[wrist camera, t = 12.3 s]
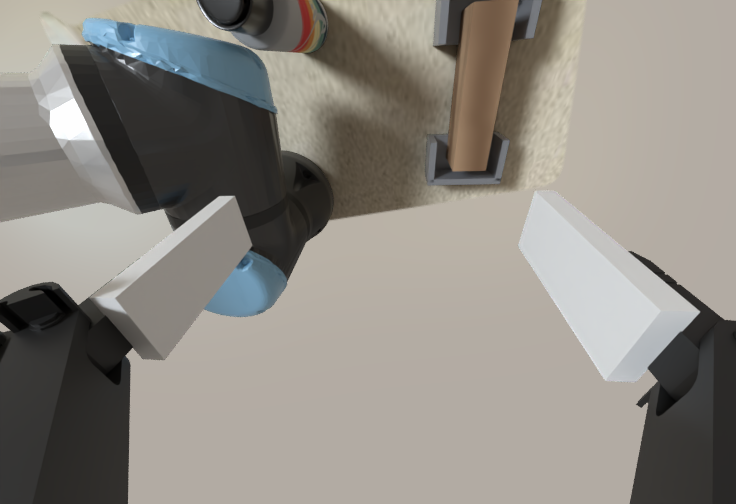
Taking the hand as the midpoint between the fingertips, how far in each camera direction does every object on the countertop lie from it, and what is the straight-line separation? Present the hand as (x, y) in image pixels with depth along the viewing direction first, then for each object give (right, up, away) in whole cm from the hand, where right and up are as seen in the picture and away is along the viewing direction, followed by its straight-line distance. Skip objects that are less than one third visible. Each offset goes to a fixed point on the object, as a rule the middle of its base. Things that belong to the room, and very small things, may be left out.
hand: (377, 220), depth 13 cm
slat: (+12, +19, +22) cm, 32 cm away
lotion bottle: (-8, +26, +20) cm, 34 cm away
